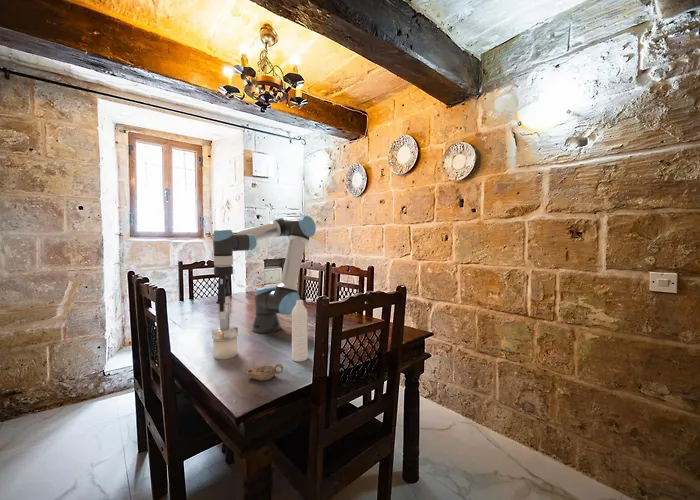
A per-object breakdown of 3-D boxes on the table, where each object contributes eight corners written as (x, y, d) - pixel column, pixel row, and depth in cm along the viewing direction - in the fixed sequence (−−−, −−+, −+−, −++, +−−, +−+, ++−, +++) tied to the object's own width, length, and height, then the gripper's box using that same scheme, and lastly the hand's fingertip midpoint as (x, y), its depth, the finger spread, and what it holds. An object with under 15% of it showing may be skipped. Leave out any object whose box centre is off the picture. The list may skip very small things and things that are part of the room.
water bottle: (294, 363, 125) (294, 302, 124) (290, 357, 131) (289, 299, 130) (314, 359, 129) (314, 300, 128) (309, 353, 135) (309, 297, 134)
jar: (238, 349, 139) (237, 332, 139) (236, 358, 130) (235, 339, 130) (215, 351, 137) (215, 334, 136) (211, 360, 128) (211, 341, 127)
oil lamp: (243, 382, 109) (243, 369, 109) (250, 373, 117) (250, 360, 116) (280, 383, 109) (280, 369, 109) (285, 373, 116) (285, 360, 116)
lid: (215, 332, 137) (214, 302, 136) (239, 331, 139) (239, 301, 138) (208, 342, 125) (207, 308, 124) (234, 340, 127) (234, 307, 126)
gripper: (218, 263, 142) (219, 308, 144) (208, 269, 118) (209, 323, 120) (235, 262, 144) (236, 307, 146) (229, 268, 120) (230, 322, 121)
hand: (224, 314), depth 133 cm, fingers open, 13 cm apart
